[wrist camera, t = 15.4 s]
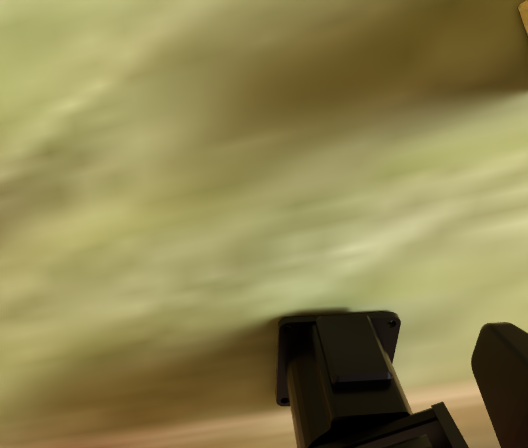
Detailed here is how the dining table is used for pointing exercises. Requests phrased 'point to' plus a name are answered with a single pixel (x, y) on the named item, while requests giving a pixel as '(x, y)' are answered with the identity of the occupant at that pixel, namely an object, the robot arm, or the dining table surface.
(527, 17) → the candy box
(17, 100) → the dining table surface
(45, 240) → the dining table surface
